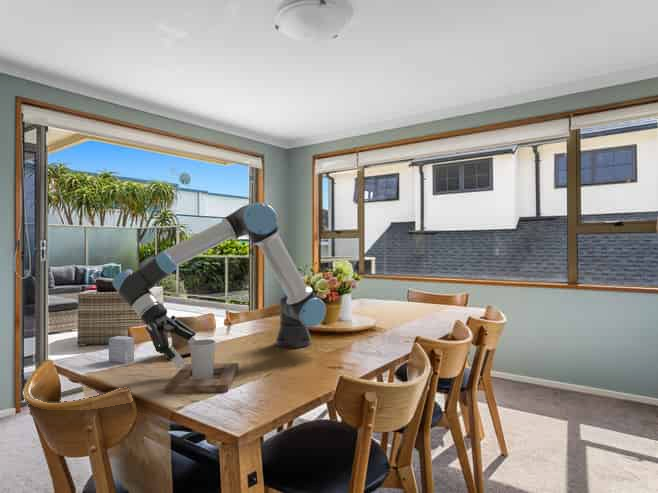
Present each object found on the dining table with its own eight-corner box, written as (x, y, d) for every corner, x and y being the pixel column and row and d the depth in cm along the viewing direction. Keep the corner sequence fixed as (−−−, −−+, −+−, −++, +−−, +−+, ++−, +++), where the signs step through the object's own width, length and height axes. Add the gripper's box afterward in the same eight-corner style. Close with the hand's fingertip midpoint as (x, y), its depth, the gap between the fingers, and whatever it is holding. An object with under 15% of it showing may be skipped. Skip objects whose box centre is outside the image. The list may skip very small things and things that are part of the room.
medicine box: (134, 360, 151) (134, 337, 151) (125, 364, 147) (125, 339, 147) (118, 358, 154) (118, 335, 154) (108, 361, 150) (108, 338, 149)
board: (238, 368, 142) (238, 362, 142) (228, 391, 120) (228, 384, 120) (185, 369, 141) (185, 363, 141) (165, 393, 119) (165, 386, 119)
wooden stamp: (189, 348, 170) (189, 312, 169) (206, 353, 162) (206, 315, 162) (154, 355, 158) (154, 317, 158) (170, 361, 150) (170, 320, 150)
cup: (193, 376, 134) (192, 339, 134) (218, 375, 135) (217, 338, 134) (187, 384, 126) (186, 346, 126) (213, 383, 127) (213, 345, 126)
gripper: (164, 311, 146) (203, 356, 143) (117, 325, 121) (163, 379, 119) (178, 297, 145) (217, 341, 142) (133, 308, 120) (180, 362, 118)
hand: (193, 358), depth 131 cm, fingers open, 13 cm apart
